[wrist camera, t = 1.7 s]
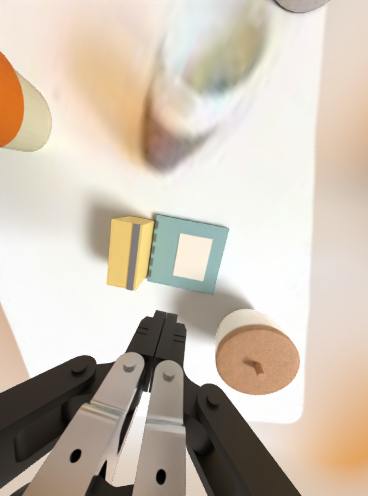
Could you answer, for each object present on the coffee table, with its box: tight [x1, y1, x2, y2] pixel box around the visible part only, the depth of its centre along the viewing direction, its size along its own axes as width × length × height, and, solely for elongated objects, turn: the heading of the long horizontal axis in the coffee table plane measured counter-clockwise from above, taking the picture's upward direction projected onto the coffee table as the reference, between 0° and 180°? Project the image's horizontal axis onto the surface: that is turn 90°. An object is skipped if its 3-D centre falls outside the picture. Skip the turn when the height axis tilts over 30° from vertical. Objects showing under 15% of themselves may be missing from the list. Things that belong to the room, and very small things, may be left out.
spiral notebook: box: [148, 215, 229, 295], centre depth 27 cm, size 11×11×1 cm
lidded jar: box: [215, 309, 300, 395], centre depth 26 cm, size 11×11×9 cm
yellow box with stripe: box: [107, 216, 155, 291], centre depth 25 cm, size 9×4×6 cm, turn 170°
